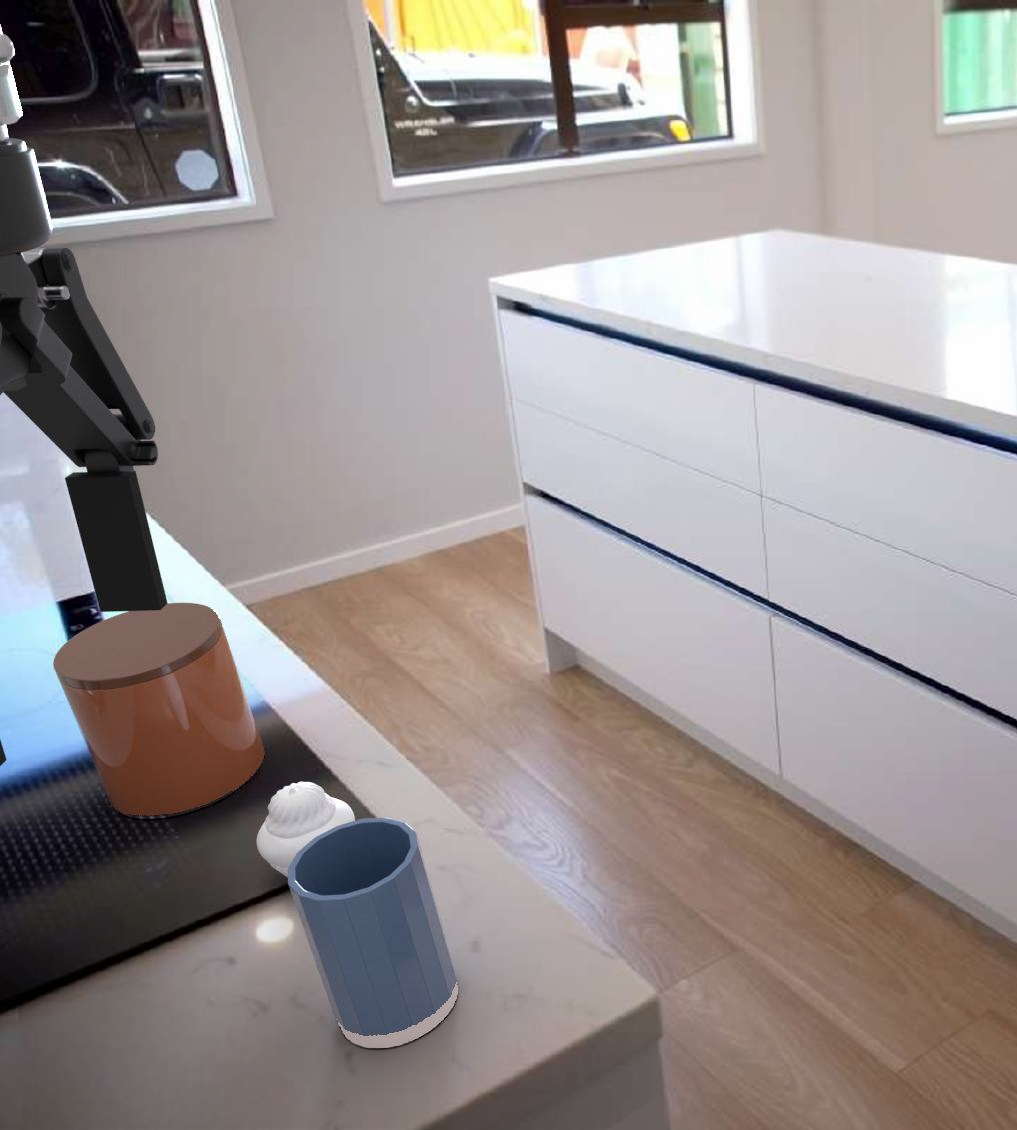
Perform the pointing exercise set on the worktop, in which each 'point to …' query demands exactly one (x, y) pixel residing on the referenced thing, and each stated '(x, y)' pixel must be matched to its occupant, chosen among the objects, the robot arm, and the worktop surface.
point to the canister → (161, 708)
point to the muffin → (298, 822)
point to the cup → (373, 925)
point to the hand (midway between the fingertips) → (59, 678)
